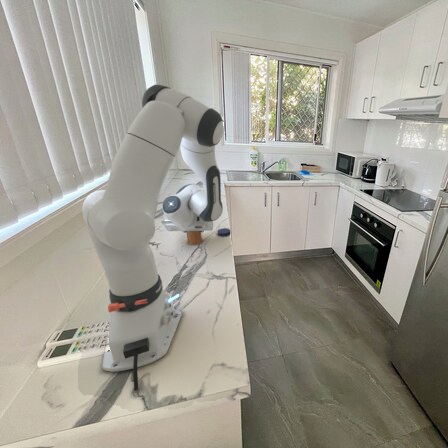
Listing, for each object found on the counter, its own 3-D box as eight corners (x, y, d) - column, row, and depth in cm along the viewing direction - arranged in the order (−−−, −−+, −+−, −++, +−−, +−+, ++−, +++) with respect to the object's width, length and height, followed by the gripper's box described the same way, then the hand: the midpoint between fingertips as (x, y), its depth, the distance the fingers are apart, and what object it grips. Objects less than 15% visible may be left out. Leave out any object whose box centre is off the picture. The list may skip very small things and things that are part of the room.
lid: (219, 231, 132) (219, 228, 131) (231, 231, 132) (231, 228, 131) (216, 236, 126) (215, 233, 125) (228, 236, 126) (228, 233, 125)
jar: (202, 243, 118) (199, 221, 113) (187, 245, 116) (184, 223, 111) (202, 238, 123) (199, 217, 119) (188, 239, 121) (185, 218, 117)
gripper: (158, 227, 103) (170, 237, 116) (208, 226, 105) (215, 236, 118) (160, 213, 105) (172, 225, 118) (209, 213, 108) (215, 224, 120)
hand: (194, 231), depth 118 cm, fingers closed on jar, 6 cm apart
